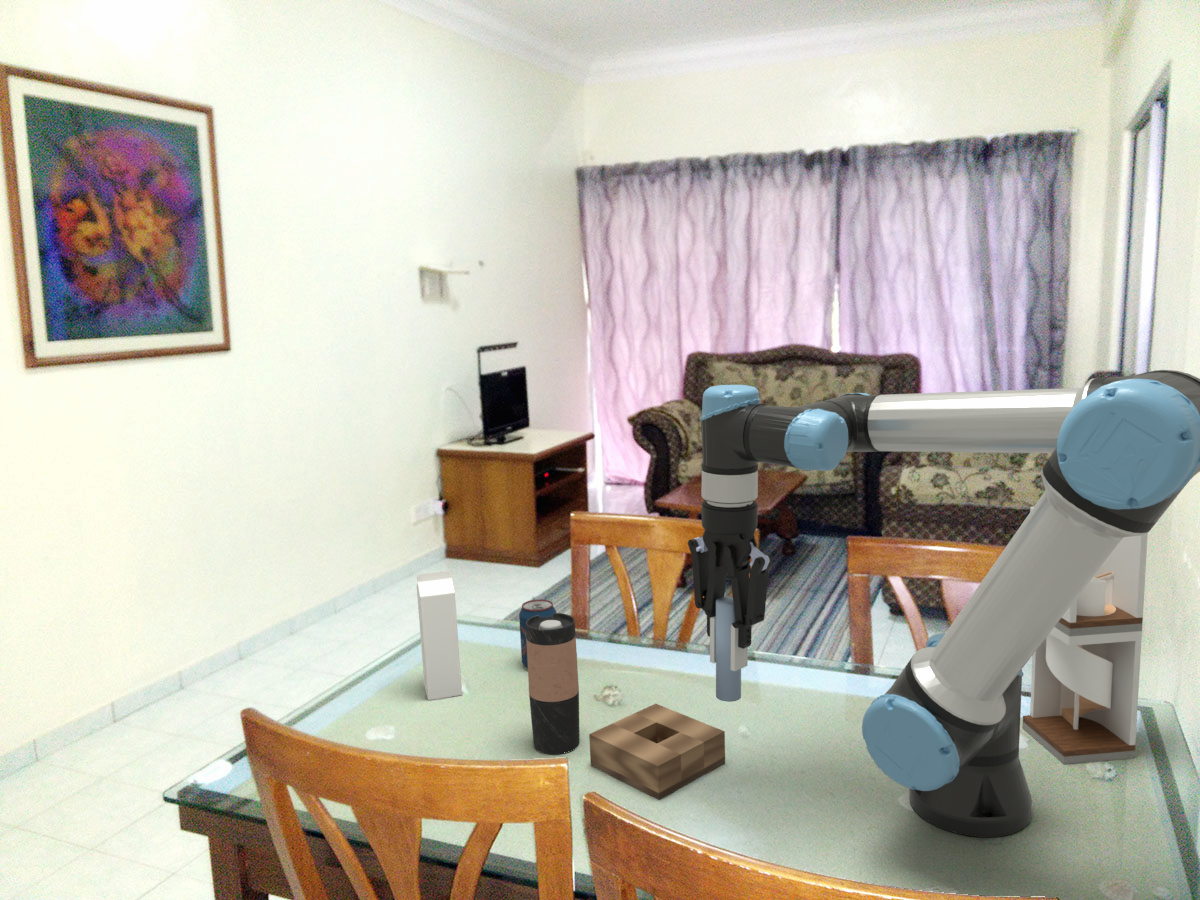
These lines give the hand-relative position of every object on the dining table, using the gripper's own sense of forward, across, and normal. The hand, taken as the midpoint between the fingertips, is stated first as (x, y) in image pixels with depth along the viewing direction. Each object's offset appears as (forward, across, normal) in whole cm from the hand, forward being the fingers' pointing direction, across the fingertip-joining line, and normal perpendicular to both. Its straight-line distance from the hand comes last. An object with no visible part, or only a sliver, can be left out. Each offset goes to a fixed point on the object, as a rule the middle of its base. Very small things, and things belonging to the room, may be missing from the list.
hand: (728, 663), depth 136 cm
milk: (+19, +56, +12) cm, 60 cm away
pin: (+5, 0, 0) cm, 5 cm away
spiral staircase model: (+16, -31, -43) cm, 55 cm away
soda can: (+19, +52, -7) cm, 56 cm away
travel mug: (+18, +26, +10) cm, 33 cm away
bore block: (+18, +10, +4) cm, 21 cm away
